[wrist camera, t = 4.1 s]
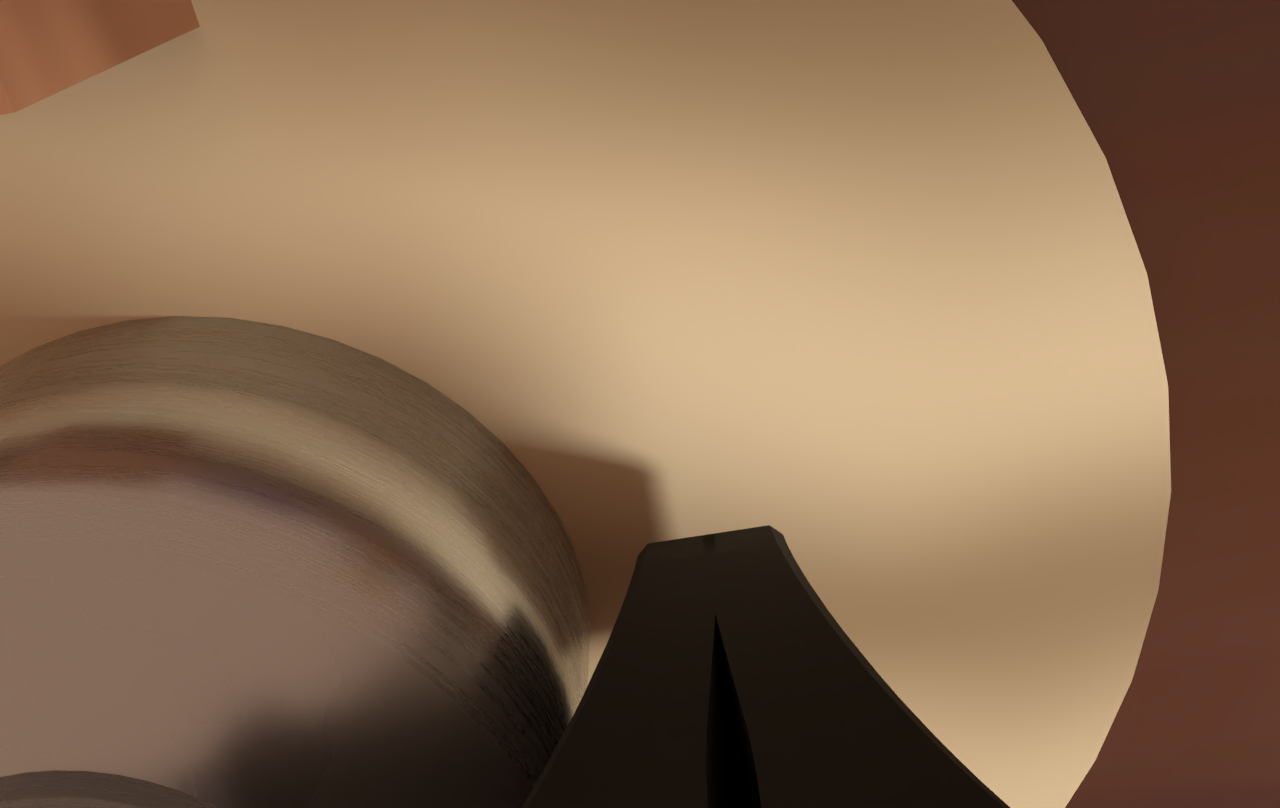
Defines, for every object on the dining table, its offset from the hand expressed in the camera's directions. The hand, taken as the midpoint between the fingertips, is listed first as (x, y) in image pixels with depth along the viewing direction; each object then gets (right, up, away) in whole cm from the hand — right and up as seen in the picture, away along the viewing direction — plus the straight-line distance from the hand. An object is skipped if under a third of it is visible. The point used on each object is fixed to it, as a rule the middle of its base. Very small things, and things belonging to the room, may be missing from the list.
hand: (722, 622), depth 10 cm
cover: (-5, 0, +1) cm, 5 cm away
